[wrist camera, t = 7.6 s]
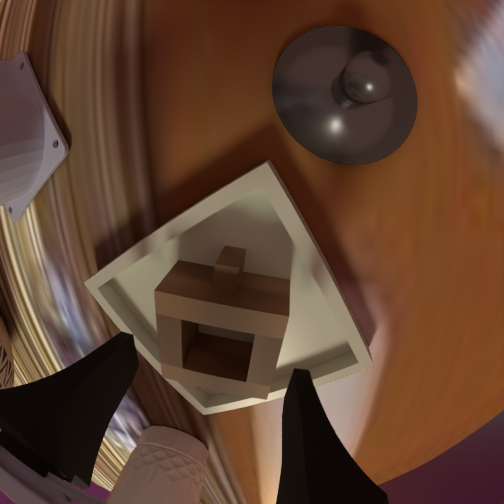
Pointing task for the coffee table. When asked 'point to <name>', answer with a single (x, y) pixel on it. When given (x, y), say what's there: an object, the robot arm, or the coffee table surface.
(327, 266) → the tray
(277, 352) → the brown square frame
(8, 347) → the planter
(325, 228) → the coffee table surface
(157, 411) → the coffee table surface
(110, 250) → the coffee table surface
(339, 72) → the grey knobbed lid
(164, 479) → the white cup
